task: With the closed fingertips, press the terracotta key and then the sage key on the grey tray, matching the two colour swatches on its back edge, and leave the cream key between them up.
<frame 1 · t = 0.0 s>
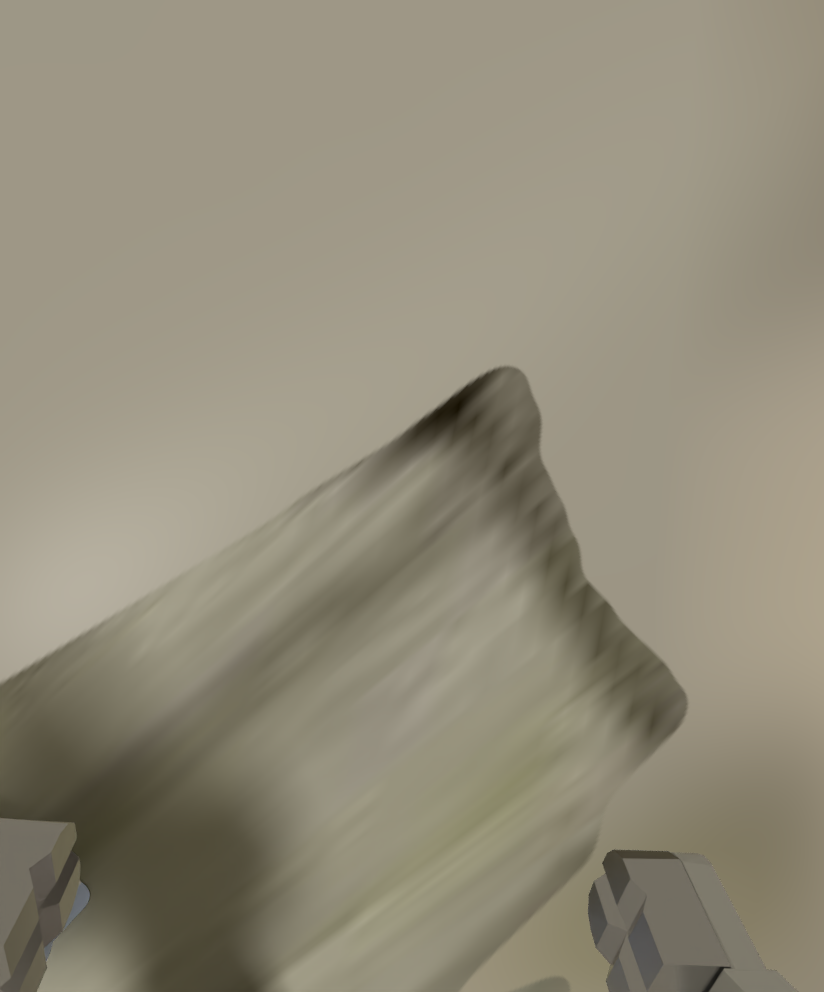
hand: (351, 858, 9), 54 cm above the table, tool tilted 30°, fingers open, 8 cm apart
hippopotamus toy: (17, 887, 58), on the table
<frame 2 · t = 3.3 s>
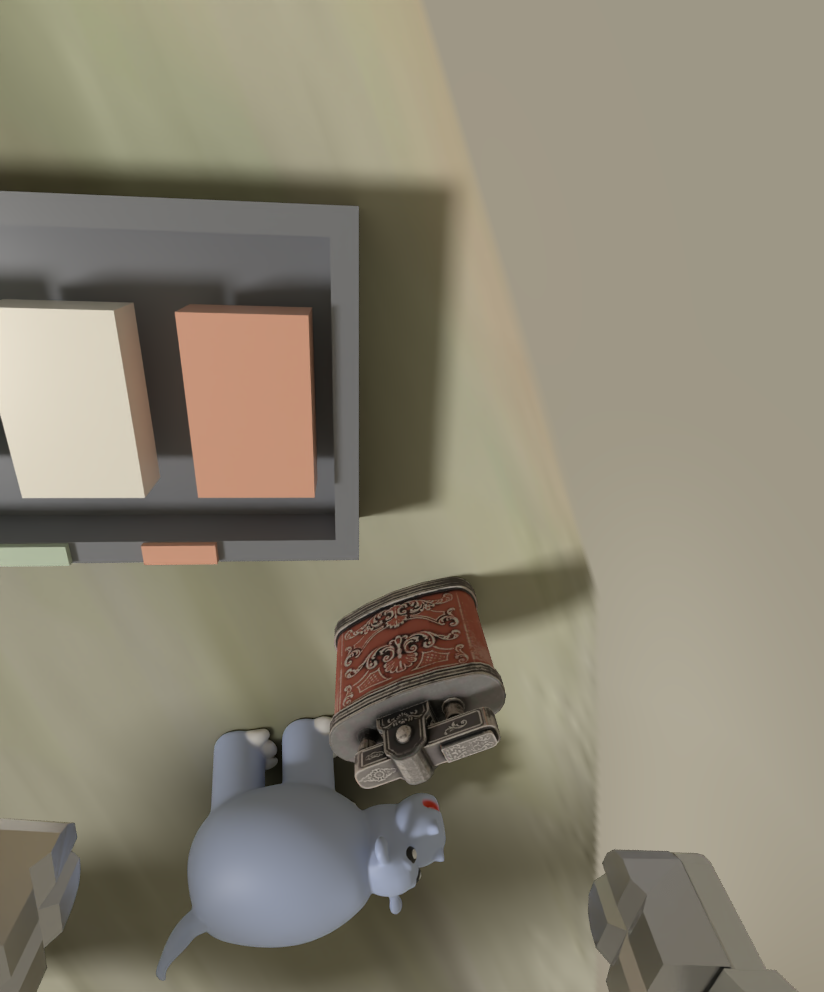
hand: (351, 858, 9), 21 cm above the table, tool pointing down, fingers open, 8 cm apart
cream key: (76, 401, 22), point 4 cm above the table, slide at 0.0 cm
terracotta key: (254, 404, 23), point 4 cm above the table, slide at 0.0 cm
grey tray: (115, 375, 26), on the table
hippopotamus toy: (317, 777, 38), on the table
lighter: (404, 613, 33), on the table
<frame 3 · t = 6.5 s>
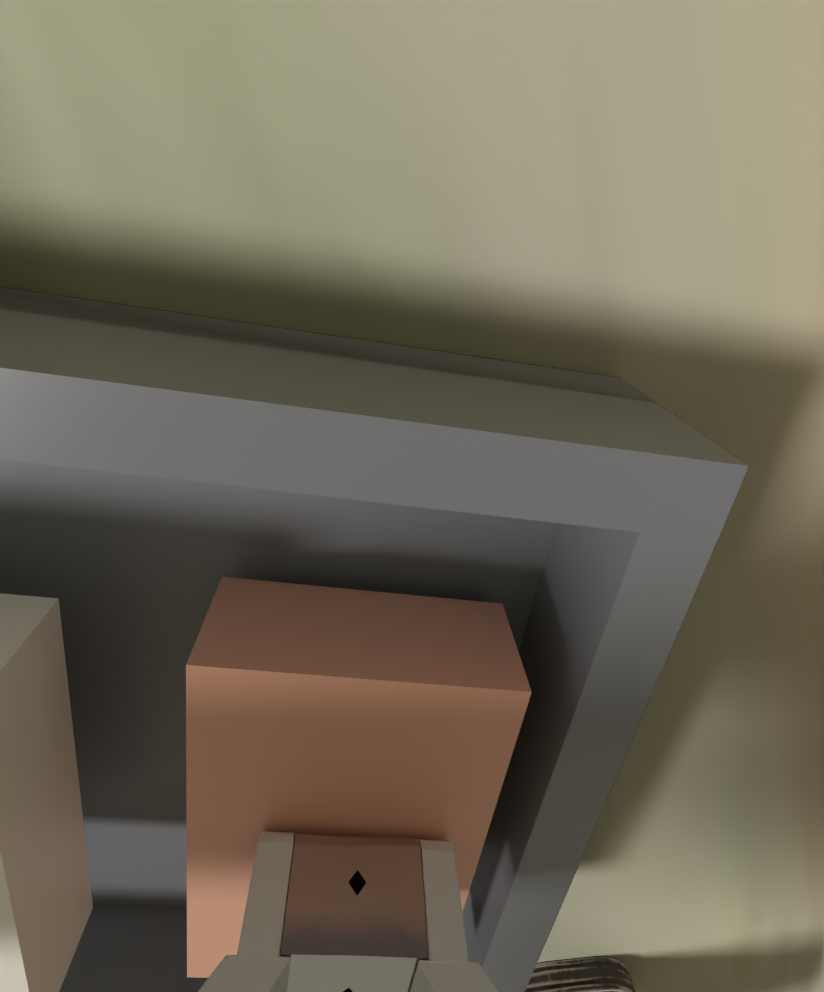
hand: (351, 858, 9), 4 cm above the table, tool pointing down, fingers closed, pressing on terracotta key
terracotta key: (340, 795, 10), point 3 cm above the table, slide at 0.9 cm, touching gripper
grey tray: (26, 643, 12), on the table
lighter: (504, 991, 19), on the table
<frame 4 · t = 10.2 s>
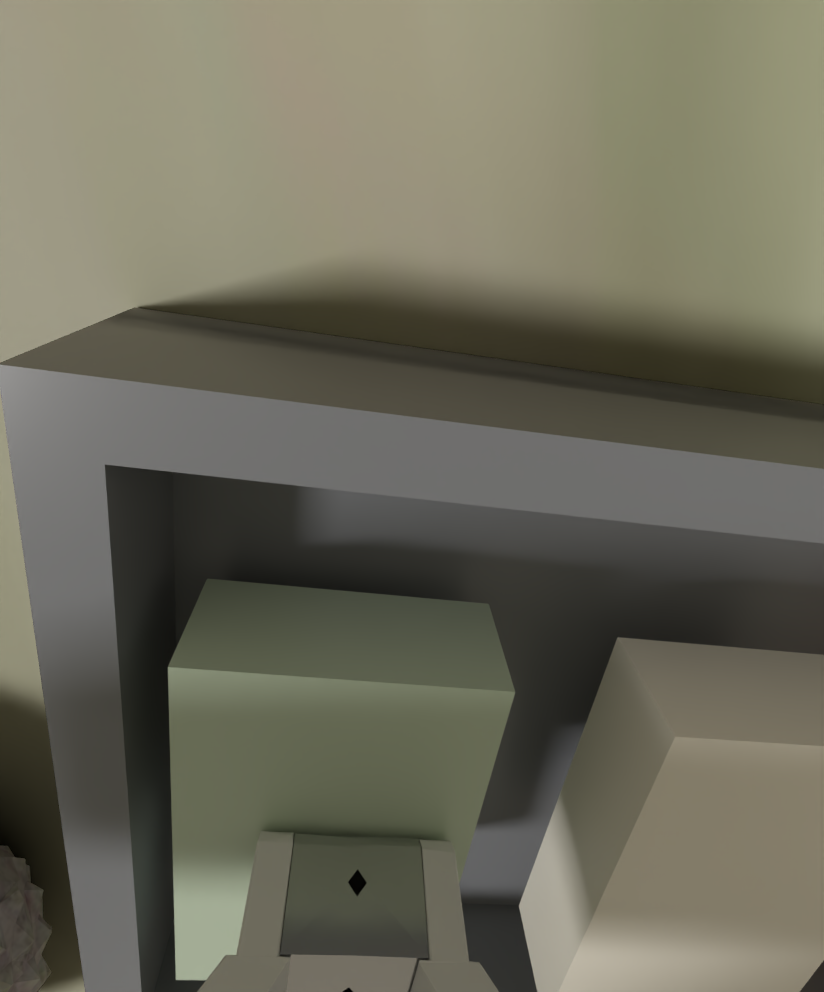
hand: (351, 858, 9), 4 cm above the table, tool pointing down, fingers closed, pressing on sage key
cream key: (702, 846, 10), point 4 cm above the table, slide at 0.0 cm
grey tray: (616, 682, 14), on the table
sage key: (327, 797, 10), point 3 cm above the table, slide at 0.6 cm, touching gripper
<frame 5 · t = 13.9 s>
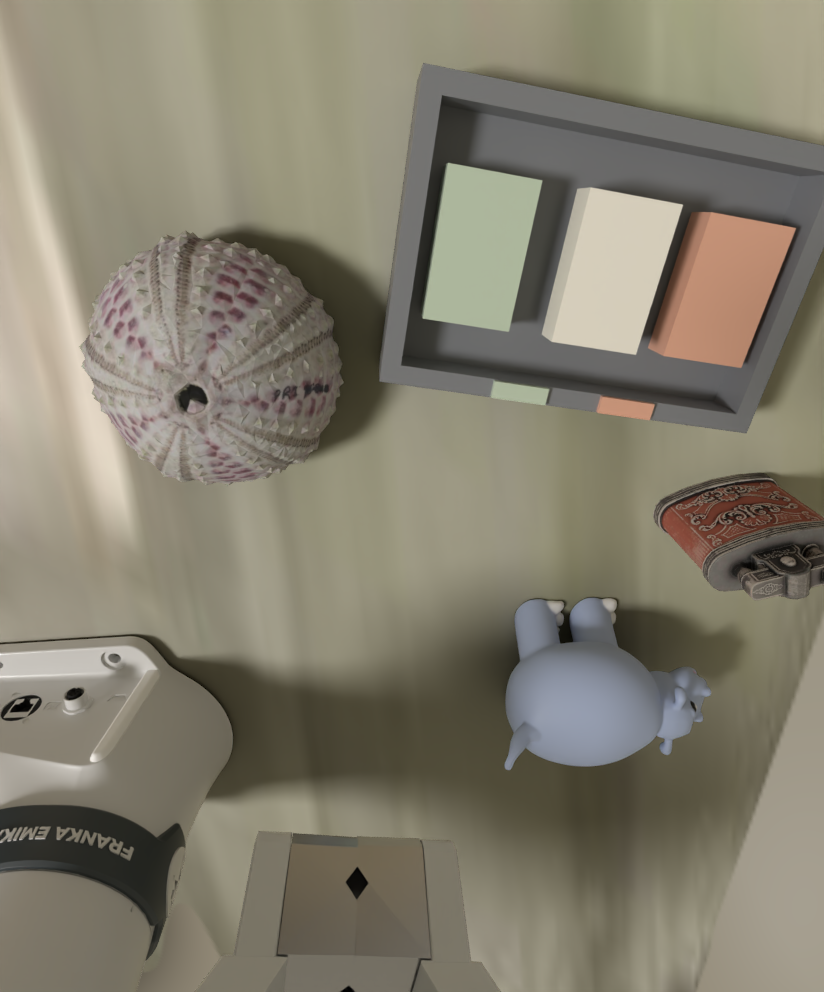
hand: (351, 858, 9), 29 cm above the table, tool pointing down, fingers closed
cream key: (607, 274, 30), point 4 cm above the table, slide at 0.0 cm
terracotta key: (717, 292, 32), point 3 cm above the table, slide at 1.1 cm
grey tray: (582, 267, 33), on the table
sage key: (477, 251, 30), point 3 cm above the table, slide at 1.1 cm
hippopotamus toy: (577, 652, 46), on the table
lighter: (710, 500, 41), on the table
sea urchin shell: (231, 358, 35), on the table
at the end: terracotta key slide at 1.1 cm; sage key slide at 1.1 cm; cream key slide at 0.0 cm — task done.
